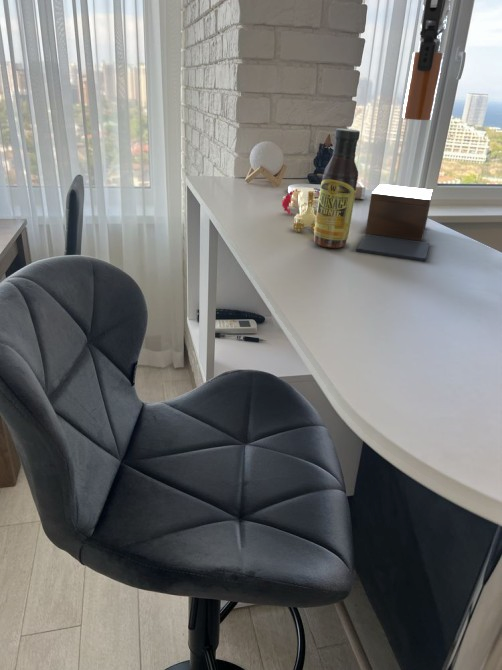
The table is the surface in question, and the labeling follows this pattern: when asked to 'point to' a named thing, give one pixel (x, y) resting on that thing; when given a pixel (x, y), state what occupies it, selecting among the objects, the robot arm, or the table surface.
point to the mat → (394, 247)
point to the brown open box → (398, 212)
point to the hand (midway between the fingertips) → (424, 71)
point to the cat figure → (302, 207)
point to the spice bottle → (422, 87)
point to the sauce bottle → (337, 192)
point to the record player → (359, 188)
